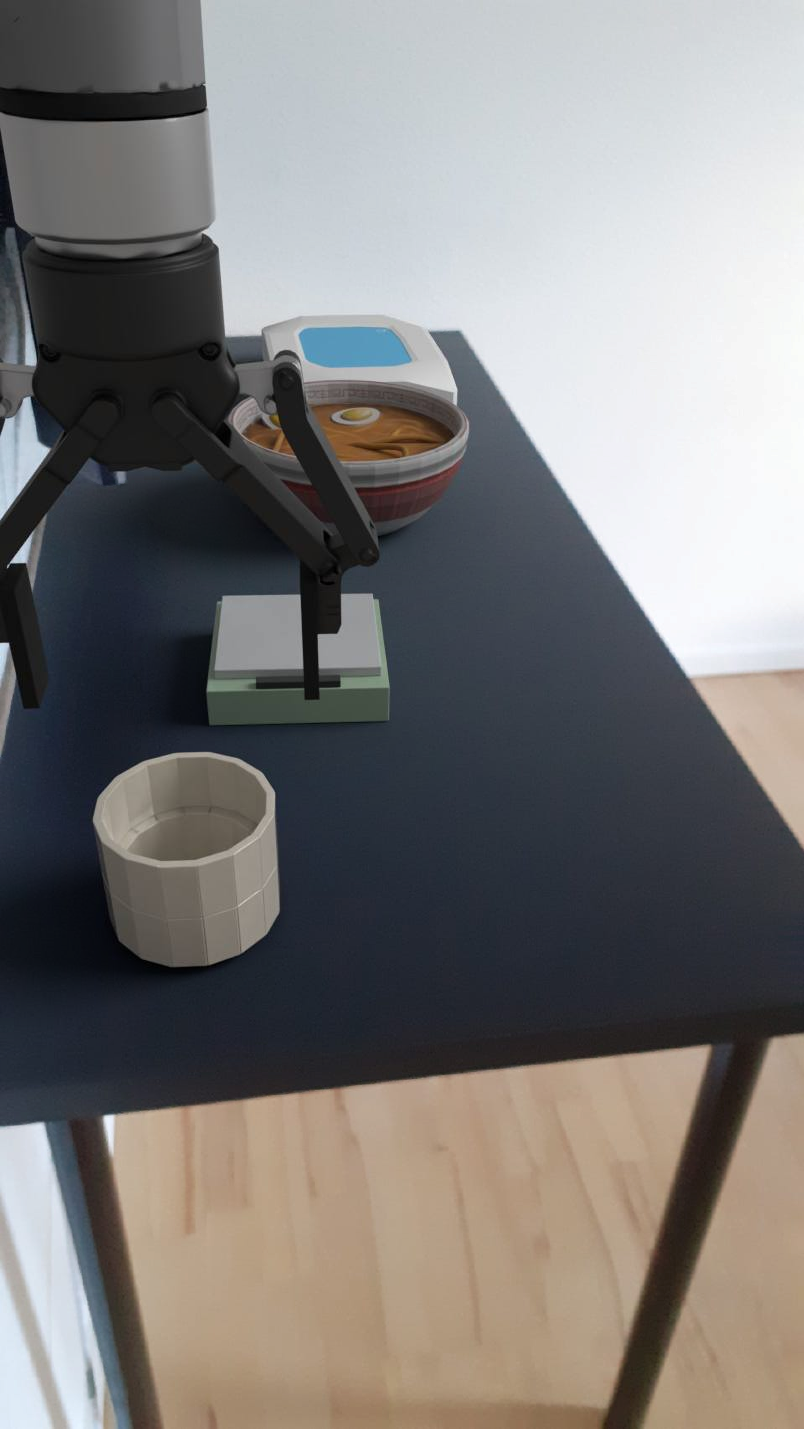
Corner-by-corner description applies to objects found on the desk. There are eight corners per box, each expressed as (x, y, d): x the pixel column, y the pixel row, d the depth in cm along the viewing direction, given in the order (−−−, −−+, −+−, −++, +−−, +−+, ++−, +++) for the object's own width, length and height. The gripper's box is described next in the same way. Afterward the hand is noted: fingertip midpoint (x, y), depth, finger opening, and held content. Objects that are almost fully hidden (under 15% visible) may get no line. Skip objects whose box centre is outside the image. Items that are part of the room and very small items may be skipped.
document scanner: (277, 437, 124) (275, 383, 121) (262, 362, 147) (260, 315, 143) (456, 431, 128) (459, 378, 124) (414, 358, 150) (416, 312, 147)
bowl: (265, 462, 118) (261, 371, 113) (473, 480, 116) (480, 388, 110) (203, 555, 100) (194, 451, 94) (449, 579, 97) (455, 474, 92)
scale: (209, 725, 78) (205, 682, 76) (219, 633, 89) (216, 592, 86) (388, 721, 79) (390, 677, 77) (377, 630, 90) (378, 589, 87)
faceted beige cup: (101, 978, 59) (80, 870, 54) (124, 857, 66) (107, 754, 62) (279, 970, 59) (273, 863, 55) (281, 852, 67) (276, 749, 63)
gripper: (429, 216, 46) (416, 643, 58) (-180, 214, 44) (-61, 656, 56) (450, 257, 40) (430, 724, 52) (-256, 256, 38) (-104, 742, 50)
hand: (175, 689), depth 54 cm, fingers open, 13 cm apart
